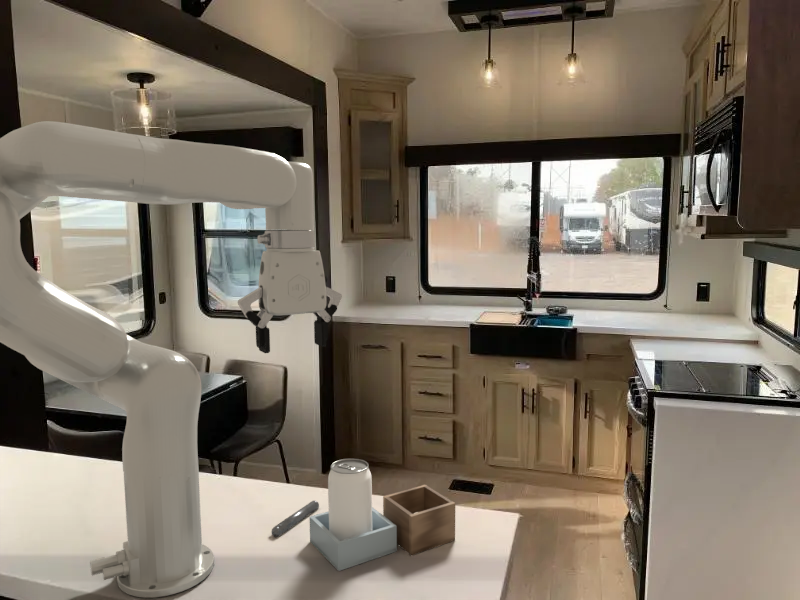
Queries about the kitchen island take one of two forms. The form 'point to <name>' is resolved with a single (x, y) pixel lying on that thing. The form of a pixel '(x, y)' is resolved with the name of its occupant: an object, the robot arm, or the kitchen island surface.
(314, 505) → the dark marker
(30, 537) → the kitchen island surface
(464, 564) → the kitchen island surface
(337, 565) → the light blue tray
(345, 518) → the can
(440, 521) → the walnut box
